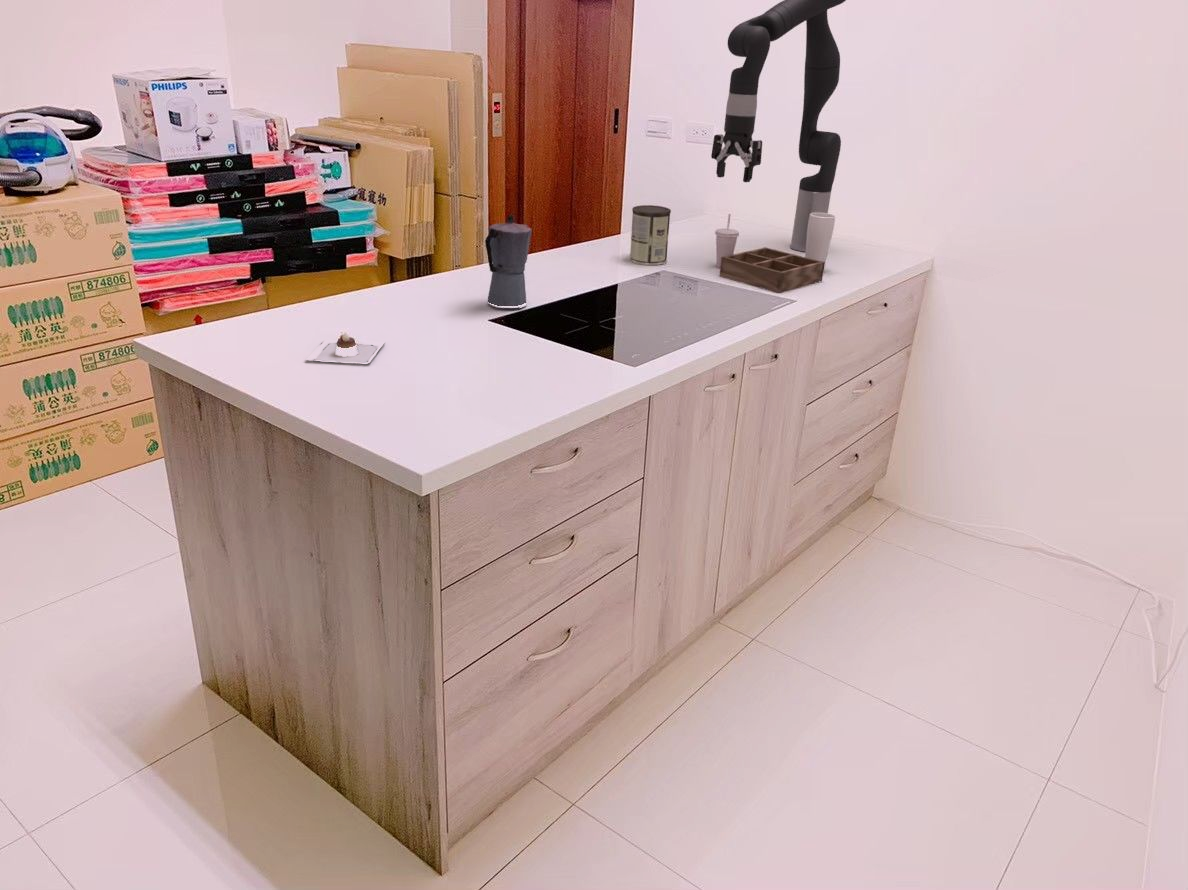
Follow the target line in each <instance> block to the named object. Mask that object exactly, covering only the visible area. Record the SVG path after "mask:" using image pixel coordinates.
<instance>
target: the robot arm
mask: <svg viewBox="0 0 1188 890" xmlns="http://www.w3.org/2000/svg"><path fill="white" fill-rule="evenodd" d="M846 1H847V0H781V1H780V2H778V3H776V4H775V5H774V6H772V7H770V8H769V9H767V10H766V11H765V12H764V13H762V14H760V15H758V16H755V17H752V18H750V19H748V20H745V21H743V22H741V23H738V25H736V26H735V27H734V28H733V29H732V30H731V32H730V33H729V35H728V38H727V48H728V50H729V53H731V54H732V55H734V56H735V57H740V58H745V60H744V63H743V64H742V65H741V67H736V68H734V69H733V70H732V71H731V74H730V80H729V81H730V82H729V91H728V97H727V101H726V107H725V117H724V118H725V119H724V127H723V131H724V135H723V134H714V135H713V136H714V137H713V140H712V141H713V142H712V150H711V155H710V156H711V159H713V160H715V161H716V162H717V163H716V172H715V173H716V177H717V178H724V177H725V173H726V172H725V171H726V165H727V162H726V160H727V159H728V158H729V156H733V155H735V156H736V157H740V159H741V160H742V161H743V163H744V170H743V177H742V182H743V183H750V182H751V180H752V179H753V174H754V173H753V172H754V167H755V166H760V165H761V164H762V154H763V153H762V152H763V141H762V140H761V139H759V140H753V135H754V132H755V124H756V123H755V122H756V116H757V107H758V90H759V81H760V77H761V73H762V70H763V69H764V66H765V62H766V60H767V57H768V55H769V51H770V47H771V42H775V41H777V40H779V39H780V38H782V37H783V36H784V35H786V34H787V33H789V32H790V31H792V30H793V29H794V28H796V27H797V26H799V25H801V24H802V23H804V22H806V23H805V25H806V31H805V32H806V33H805V35H806V38H805V44H806V45H805V61H804V73H803V74H804V78H803V79H804V80H803V83H804V84H803V89H804V90H803V107H802V110H803V111H802V116H801V117H802V119H801V126H800V134H799V141H798V158H799V161H800V162H801V163H804V164H806V165H813V166H819V167H820V168H819V170H818V172H817V173H815V174H813V175H808V176H805V177H802V178H801V179H800V181H799V187H798V194H797V201H796V208H795V214H794V222H793V227H792V235H791V243H790V248H791V249H793V250H795V251H799V252H805V253H806V240H807V228H808V221H809V216H810V214H811V213H828V214H829V209H830V208H829V207H830V202H831V197H832V196H831V195H832V190H833V189H832V188H833V184H834V181H835V177H836V173H837V172H836V171H837V168H838V162H839V158H840V154H841V153H840V152H841V146H842V139H841V136H840V134H839V133H837V132H831V131H821V130H818V120H819V118H820V113H822V110H823V109H824V107H825V105H826V103H827V102H828V101H829V100H830V98H831V96H832V95H833V94H834V92H835V90H837V87H838V84H839V81H840V69H841V55H840V51H839V47H838V45H837V42H836V40H835V37H834V35H833V33H832V31H831V28H830V23H829V19H828V10H829V9H832V8H834V7H837V6H839V5H842V4H843V3H845V2H846ZM723 144H724V146H723Z"/></svg>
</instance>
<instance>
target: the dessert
mask: <svg viewBox="0 0 1188 890" xmlns="http://www.w3.org/2000/svg"><path fill="white" fill-rule="evenodd" d="M340 333H341V335H340V336H339V338H337V339H338V341H337V344H336V345H337V346H338V347H341V348H349V347H353V346H355V345H356V343H355V340H356V339H354V338H353V337H351V336H349V334H348V333H347V332H345V331H344V333H343V332H340Z"/></svg>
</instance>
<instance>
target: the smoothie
mask: <svg viewBox="0 0 1188 890" xmlns="http://www.w3.org/2000/svg"><path fill="white" fill-rule="evenodd" d="M730 222H731V213H728V216H727V226H726V228H724V227H723V228H722V227H721V228H716V229H715V233H714V234H715V242H716V243H715V245H716V248H715V251H716V253H715V254H716V260H715V261H716V267H717V268H719V269H720V266H721V257H724V256H728V255H733V254H735V248H736V245H737V241H738V237H739V236H740V231H739V230H738V229H737V230H736V229H735V228H734V229H733V228H730V224H731V223H730Z"/></svg>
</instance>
